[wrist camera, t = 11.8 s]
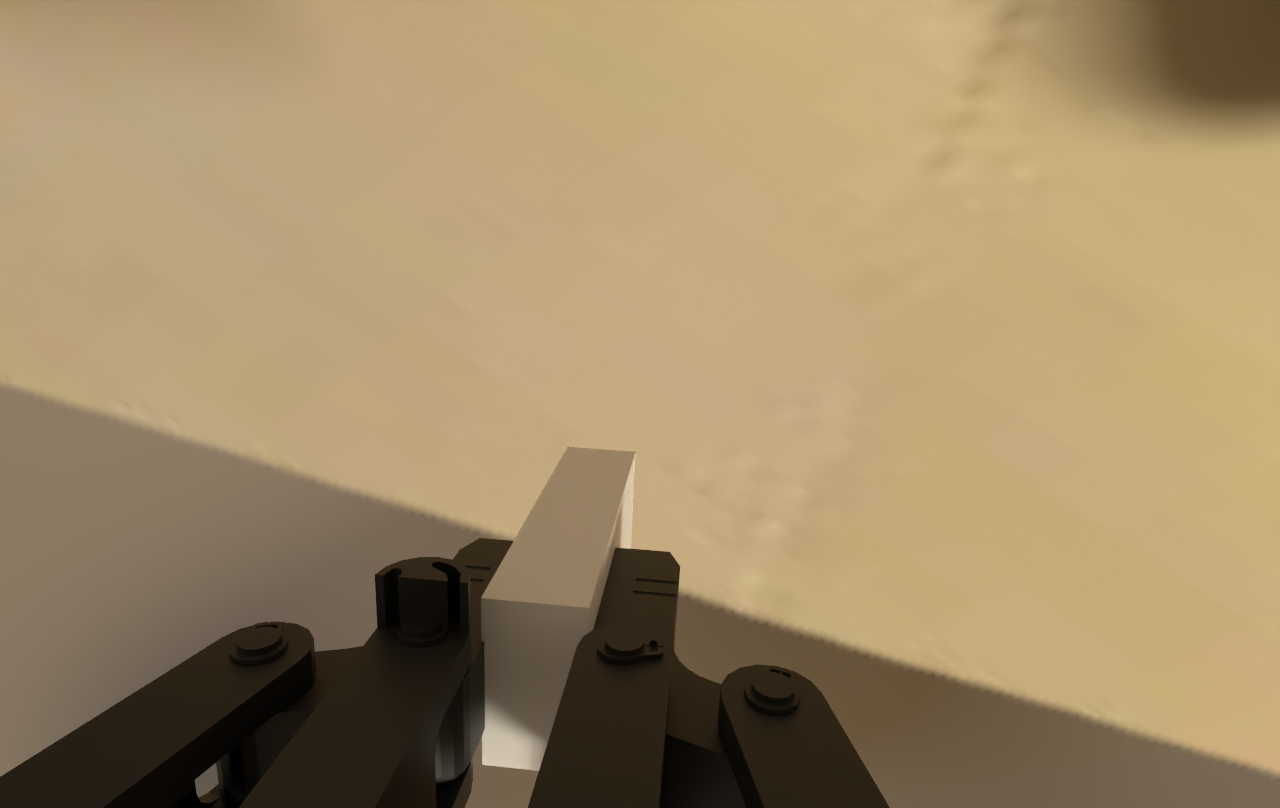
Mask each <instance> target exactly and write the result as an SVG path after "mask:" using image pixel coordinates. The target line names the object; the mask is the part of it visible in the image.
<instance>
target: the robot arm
mask: <svg viewBox="0 0 1280 808" xmlns="http://www.w3.org/2000/svg"><path fill="white" fill-rule="evenodd" d="M634 471H635V452H628V451H615V450H602V449H588V448H575V447H568V448H567V449H566V451H565V453H564V455H563V456H562V458H561V460H560V461H559V463H558V465H557V467H556V468H555V470H554V472H553V474H552V475H551V477H550V479H549V481H548V482H547V484H546V486H545V488H544V489H543V491H542V493H541V494H540V496H539V498H538V500H537V501H536V503H535V505H534V507H533V508H532V510H531V512H530V514H529V515H528V517H527V519H526V521H525V522H524V524H523V526H522V528H521V529H520V531H519V533H518V534H517V536H516V538H515V540H514V541H508V540H496V539H484V538H479V539H478V540H476V541H474V542H472V543H471V544H469V545H467V546H466V547H464V548H462V549H460V550H459V552H458V553H457V555H456V556H455V557H454V559H453V560H450V559H445V558H440V557H419V558H413V559H407V560H402V561H399V562H397V563H394V564H392V565H389V566H386V567H385V568H383V569H382V570H381V571H380V572H378V573H377V574H375V583H376V584H375V586H376V605H377V625H378V628H377V629H376V630H375V632H374V633H373V634H372V636H371V637H370V638H369V639H368V641H367V642H366V643H365V645H364V646H361V647H355V648H349V649H340V650H329V651H319V652H315V650H314V638H313V636H312V635H311V633H310V631H309V630H308V629H306V628H304V627H302V626H300V625H298V624H293V623H285V622H270V623H268V622H265V623H258V624H255V625H253V626H249V627H246V628H242V629H239V630H237V631H235V632H233V633H231V634H228V635H226V636H225V637H222V638H221V639H219V640H217V641H216V642H214V643H213V644H211V645H209V646H208V647H206V648H205V649H203V650H201V651H200V652H198V653H197V654H195V655H193V656H192V657H190V658H189V659H187V660H186V661H184V662H182V663H181V664H179V665H178V666H176V667H174V668H173V669H171V670H170V671H168V672H166V673H165V674H163V675H162V676H160V677H158V678H157V679H155V680H154V681H152V682H151V683H149V684H147V685H146V686H144V687H143V688H141V689H139V690H138V691H136V692H135V693H133V694H131V695H130V696H128V697H127V698H125V699H124V700H122V701H120V702H119V703H117V704H116V705H114V706H112V707H111V708H109V709H108V710H106V711H104V712H103V713H101V714H100V715H98V716H96V717H95V718H93V719H92V720H90V721H88V722H87V723H85V724H84V725H82V726H80V727H79V728H77V729H76V730H74V731H73V732H71V733H69V734H68V735H67V736H65V737H63V738H61V739H60V740H58V741H57V742H55V743H53V744H52V745H50V746H49V747H47V748H45V749H44V750H42V751H41V752H39V753H38V754H36V755H34V756H33V757H31V758H30V759H28V760H26V761H25V762H23V763H22V764H20V765H18V766H17V767H15V768H14V769H12V770H10V771H9V772H7V773H6V774H4V775H3V776H1V777H0V808H465V805H466V803H467V801H468V798H469V795H470V793H471V789H472V781H473V755H474V753H475V750H476V748H477V746H478V743H479V741H480V738H481V736H482V763H483V765H491V766H499V767H510V768H518V769H528V770H537V771H539V773H538V776H537V779H536V783H535V786H534V789H533V793H532V796H531V799H530V803H529V806H528V808H889V806H888V804H887V802H886V801H885V799H884V797H883V796H882V794H881V792H880V790H879V789H878V787H877V786H876V784H875V782H874V781H873V779H872V777H871V775H870V774H869V772H868V770H867V769H866V767H865V765H864V763H863V762H862V760H861V758H860V757H859V755H858V753H857V752H856V750H855V748H854V747H853V745H852V744H851V742H850V740H849V738H848V736H847V735H846V733H845V731H844V730H843V728H842V726H841V725H840V723H839V721H838V720H837V718H836V716H835V715H834V713H833V711H832V710H831V708H830V706H829V704H828V703H827V701H826V699H825V698H824V696H823V694H822V693H821V692H820V691H819V689H817V687H816V686H815V685H814V684H813V683H812V682H811V681H810V680H808V679H807V678H805V677H803V676H801V675H799V674H798V673H796V672H794V671H791V670H788V669H785V668H781V667H777V666H768V665H753V666H748V667H742V668H739V669H737V670H735V671H734V672H732V673H730V674H728V675H727V677H726V678H725V680H724V681H723V683H722V684H719V683H716V682H713V681H710V680H708V679H705V678H703V677H700V676H698V675H696V674H695V673H693V672H692V671H690V670H689V669H687V668H686V667H685V666H684V665H683V664H682V663H681V662H680V661H679V660H678V658H677V656H676V654H675V652H674V646H675V633H676V618H677V603H678V589H679V574H680V566H679V564H678V563H677V562H676V560H675V559H674V557H673V556H672V555H671V553H670V552H663V551H651V550H639V549H631V533H632V512H633V492H634ZM215 763H216V766H217V774H218V782H219V784H218V785H217V786H216V787H214V788H213V789H212V790H211V791H210V792H209V793H207V794H205V795H203V796H201V797H200V798H198V796H197V794H196V787H195V779H196V778H197V777H199V776H200V775H201V774H202V773H203V772H205V771H206V770H207V769H208V768H210V767H211V766H212V765H213V764H215Z"/></svg>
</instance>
